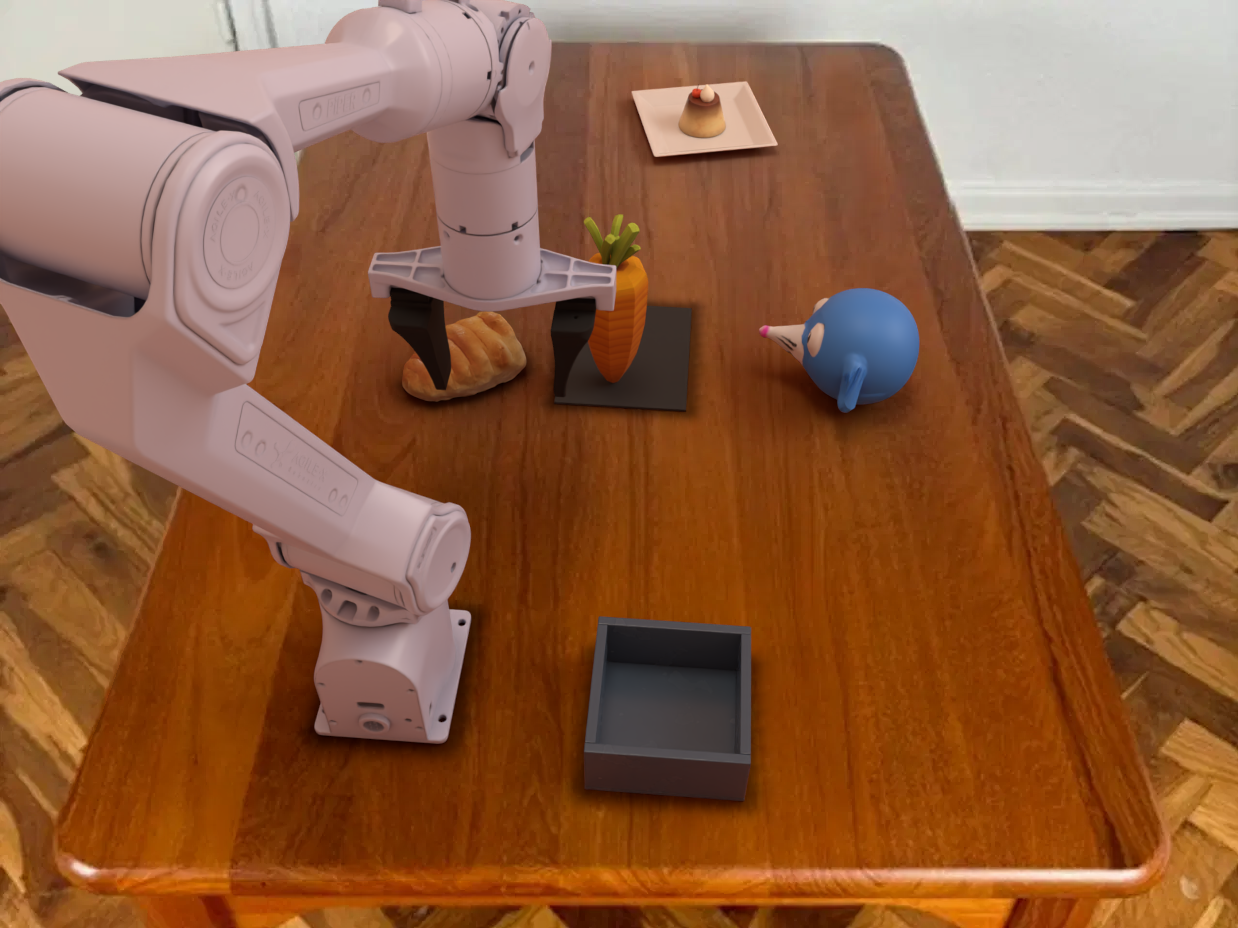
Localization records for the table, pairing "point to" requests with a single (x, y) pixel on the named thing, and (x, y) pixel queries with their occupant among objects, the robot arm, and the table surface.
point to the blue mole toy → (854, 346)
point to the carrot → (619, 301)
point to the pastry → (470, 359)
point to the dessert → (702, 119)
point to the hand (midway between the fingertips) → (502, 383)
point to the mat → (640, 368)
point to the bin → (669, 709)
